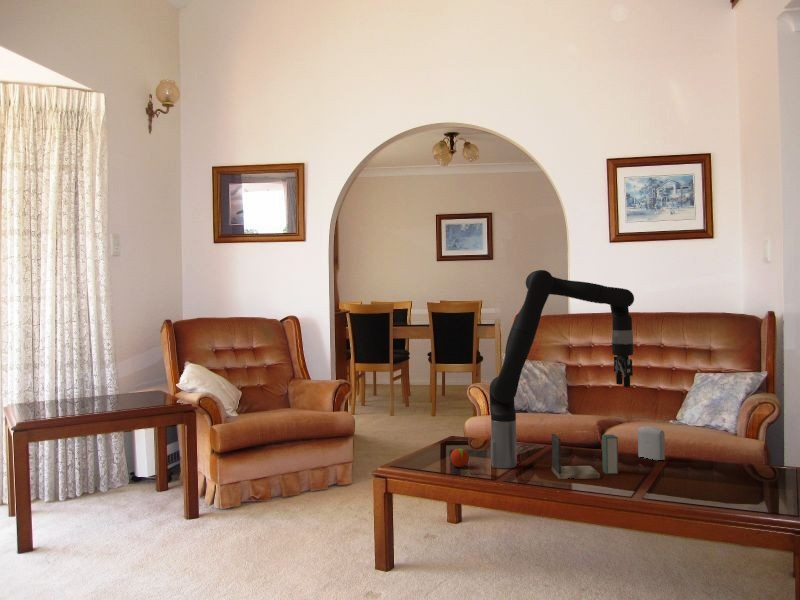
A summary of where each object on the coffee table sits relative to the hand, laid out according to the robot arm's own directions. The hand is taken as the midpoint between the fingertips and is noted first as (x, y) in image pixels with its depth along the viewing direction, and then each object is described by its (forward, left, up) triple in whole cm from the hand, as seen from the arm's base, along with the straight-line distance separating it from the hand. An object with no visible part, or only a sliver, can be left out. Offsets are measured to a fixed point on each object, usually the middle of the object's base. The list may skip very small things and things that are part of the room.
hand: (623, 385), depth 259 cm
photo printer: (+13, +8, -30) cm, 33 cm away
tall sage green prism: (-9, -12, -29) cm, 33 cm away
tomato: (-61, -1, -30) cm, 68 cm away
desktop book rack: (-22, -14, -29) cm, 39 cm away
